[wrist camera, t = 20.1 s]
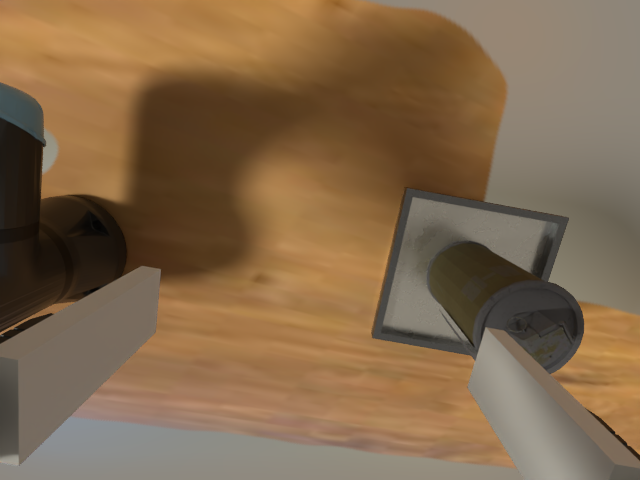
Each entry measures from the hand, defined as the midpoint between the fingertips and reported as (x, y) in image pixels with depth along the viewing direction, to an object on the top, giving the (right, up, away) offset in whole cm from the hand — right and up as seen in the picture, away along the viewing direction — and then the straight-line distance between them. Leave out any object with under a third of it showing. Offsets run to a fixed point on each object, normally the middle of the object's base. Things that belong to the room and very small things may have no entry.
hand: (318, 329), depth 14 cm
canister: (+20, -2, +37) cm, 42 cm away
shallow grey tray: (+21, -2, +37) cm, 43 cm away
